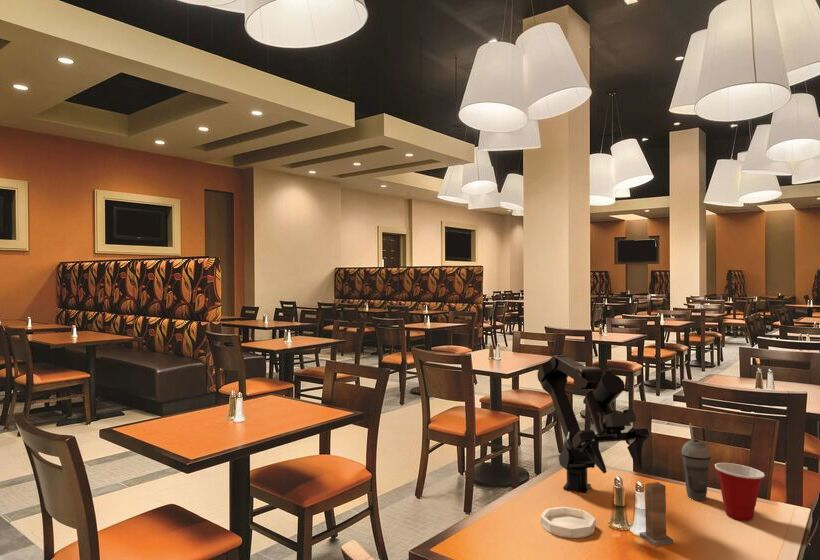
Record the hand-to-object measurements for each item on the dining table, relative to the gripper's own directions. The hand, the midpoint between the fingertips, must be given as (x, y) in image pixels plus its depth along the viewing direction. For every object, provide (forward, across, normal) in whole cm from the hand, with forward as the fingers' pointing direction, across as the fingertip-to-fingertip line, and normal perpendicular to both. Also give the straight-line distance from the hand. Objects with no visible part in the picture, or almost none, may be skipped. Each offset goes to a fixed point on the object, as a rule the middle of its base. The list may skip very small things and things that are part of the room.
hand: (622, 471), depth 133 cm
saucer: (+9, -13, +10) cm, 19 cm away
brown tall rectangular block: (+15, +3, +2) cm, 16 cm away
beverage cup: (+3, +28, +17) cm, 33 cm away
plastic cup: (+11, +31, +8) cm, 34 cm away
